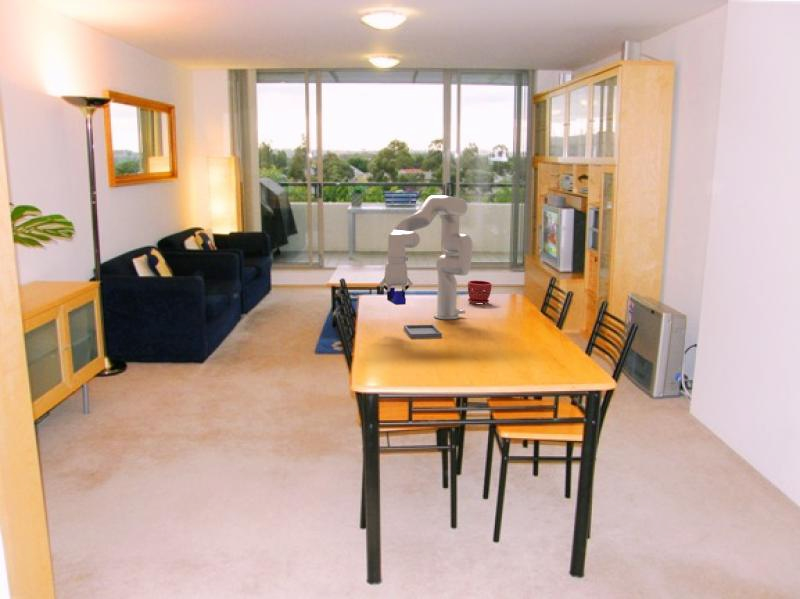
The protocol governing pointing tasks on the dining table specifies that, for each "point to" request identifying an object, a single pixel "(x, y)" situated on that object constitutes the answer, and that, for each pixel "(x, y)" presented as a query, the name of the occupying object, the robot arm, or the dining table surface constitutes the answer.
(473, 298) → the plant pot
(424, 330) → the shallow rectangular tray
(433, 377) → the dining table surface
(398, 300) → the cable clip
